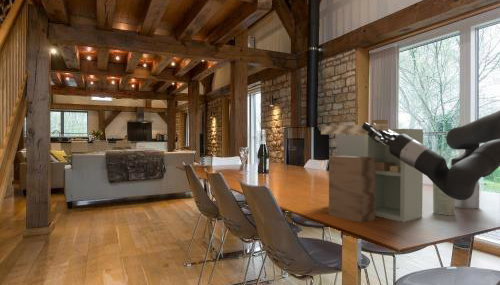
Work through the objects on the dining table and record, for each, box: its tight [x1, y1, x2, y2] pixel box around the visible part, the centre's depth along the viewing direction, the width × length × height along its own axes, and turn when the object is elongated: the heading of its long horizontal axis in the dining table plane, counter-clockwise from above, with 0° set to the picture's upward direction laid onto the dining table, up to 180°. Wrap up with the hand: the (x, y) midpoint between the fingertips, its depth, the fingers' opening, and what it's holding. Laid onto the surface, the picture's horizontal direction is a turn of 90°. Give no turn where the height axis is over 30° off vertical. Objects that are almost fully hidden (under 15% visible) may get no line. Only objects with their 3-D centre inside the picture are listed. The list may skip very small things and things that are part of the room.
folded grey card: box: [336, 134, 365, 157], centre depth 139 cm, size 14×6×30 cm, turn 84°
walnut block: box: [328, 155, 376, 224], centre depth 118 cm, size 8×14×22 cm, turn 35°
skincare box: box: [432, 182, 456, 216], centre depth 124 cm, size 6×4×12 cm
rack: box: [364, 119, 424, 223], centre depth 121 cm, size 12×16×36 cm
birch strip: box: [320, 123, 389, 135], centre depth 118 cm, size 26×4×3 cm, turn 35°
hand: (367, 125), depth 113 cm, fingers closed on birch strip, 4 cm apart
